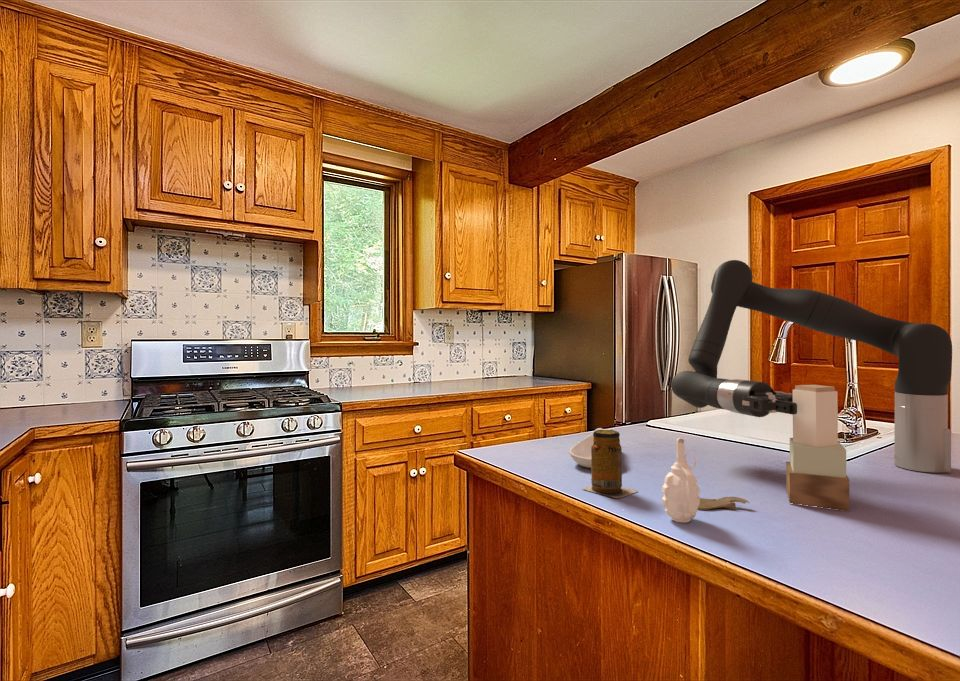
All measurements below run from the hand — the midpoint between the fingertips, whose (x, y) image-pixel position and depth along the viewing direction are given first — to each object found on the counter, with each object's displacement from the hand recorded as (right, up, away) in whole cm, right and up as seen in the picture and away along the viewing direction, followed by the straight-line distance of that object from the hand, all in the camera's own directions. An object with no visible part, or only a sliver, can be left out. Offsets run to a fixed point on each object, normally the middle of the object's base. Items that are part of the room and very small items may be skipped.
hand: (813, 407), depth 96 cm
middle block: (0, -12, 0) cm, 12 cm away
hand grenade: (-29, -18, -9) cm, 35 cm away
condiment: (-37, -18, +7) cm, 42 cm away
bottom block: (0, -18, 0) cm, 18 cm away
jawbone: (-19, -18, +4) cm, 27 cm away
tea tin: (0, -7, 0) cm, 7 cm away
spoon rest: (-33, -18, +32) cm, 49 cm away
